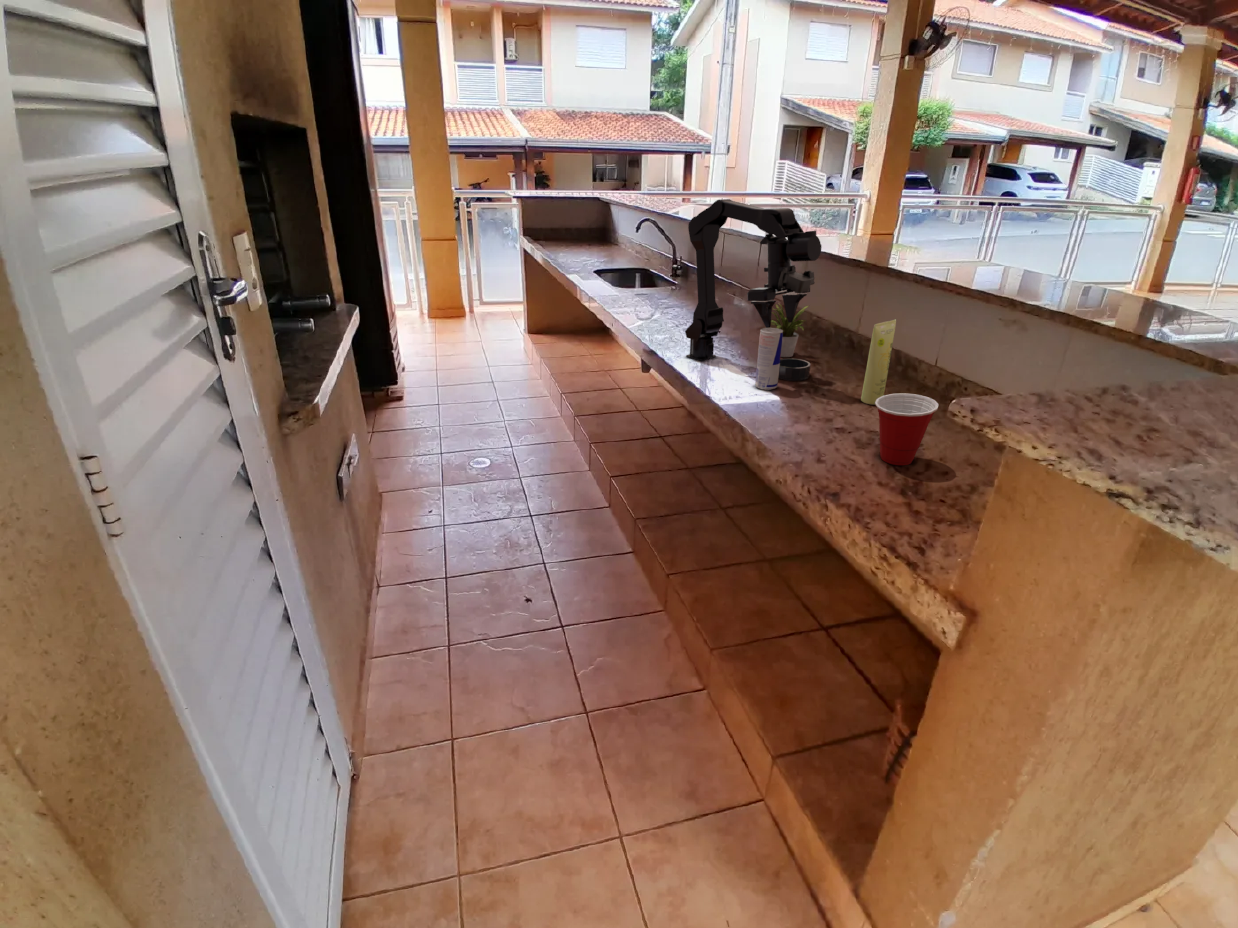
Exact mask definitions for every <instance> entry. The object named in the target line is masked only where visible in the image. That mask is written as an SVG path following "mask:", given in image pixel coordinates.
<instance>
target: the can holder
mask: <svg viewBox="0 0 1238 928" xmlns="http://www.w3.org/2000/svg"><path fill="white" fill-rule="evenodd" d="M811 365H812V364H811V363H810V361H807V360H805V359H801V358H792V357H791V358H790V357H785V358H780V366H779V376H778V380H779V379H780V380H784V381H790V382H798V381H805V380H808V379H809V378H810V375H811V373H810V372H811Z"/></svg>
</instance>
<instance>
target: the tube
mask: <svg viewBox="0 0 1238 928" xmlns="http://www.w3.org/2000/svg"><path fill="white" fill-rule="evenodd" d="M896 326H897V319H896V318H895V319H892V320H888V321H887V320H886V321H883V322H878V323H875V324H874V325H873V329H872V335H871V340H870V345H869V350H868V356H867V363H866V368H865V373H864V379H863V385H862V391H861V397H860V402H862V403H864V404H867V405H875V402H876V400H877V399H878V398H880V397H882V396H884V395H885V392H886V391H885V390H886V385H887V379H888V374H889V367H890V362H891V356H892V349H893V344H894V339H895V332H896ZM875 406H876V405H875Z"/></svg>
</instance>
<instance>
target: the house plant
mask: <svg viewBox="0 0 1238 928" xmlns="http://www.w3.org/2000/svg"><path fill="white" fill-rule="evenodd" d="M774 306H775V308H774V311H772V314H773V315H774V316H775V318H776V319H777V321H776V320H774V319H771V324H772V325H774V326H775V327H776V328H777V329H781V330H783V332H782V333H783V338H782V347H781V357H780V358H790V357H791V358H792V357H793V356H794V353H795V350H796V346H797V343H798V339H799V333H797V332H798V330H799V328H800V329H801V330H802V331H804V329H805V328H804V326H803V325H805V323H804V322H805V320H803V319H798V318H799V317H800V316H801V315H802V314H803V313H805V312H806V311H809V310H808V309H807V308H809V307H810V305H806V306H804V307H803V308H801V309H800V310H799V311H798V312H797V313H795V316H794V319H793V322H791V323H790V322H788V320H787V316H786V317H785V314H784V309H783V306H782V304H780V303H779V304H778V303H777V304H776V303H775V304H774ZM806 309H807V310H806Z"/></svg>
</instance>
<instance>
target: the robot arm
mask: <svg viewBox="0 0 1238 928" xmlns="http://www.w3.org/2000/svg"><path fill="white" fill-rule="evenodd" d="M794 212H795V211H794V210H793V209H792V208H790V207H770V208H769V207H768V208H767V207H760V206H756V205H751V204H748V203H743V202H739V201H735V200H732V199H731V198H722V199H717V200H715V201H714V202H712V204H711V205H709V206H708V207H707V208H705V209H704V210H702V211H701V212H699V213H698V214H697V215H695V216H693V217H691V219H690V221H689V222H688V226H687V229H688V235H689V241H690V243H691V245H692V246H693V248H694V250H695V256H696V257H695V261H696V262H695V263H696V284H697V305H696V307H695V309H694V311H693V314H692V315H693V316H692V323H690V325H689V326H688V327H687V328H686V329H685V331H684V332H685V337H686V339H689V354H686V355H685V357H686V358H688V359H692V360H696V361H701V362H704V361H707V360H710V359H713V358H716V356H717V355H716V354H714V352H715V351H714V349H715V348H714V347H715V344H714V343H715V342H714V337H718V335H719V331H720V329H721V328H722V327H723V322H725V319H724V308H723V307H721V306H720V307H719V305H718V303H717V302H716V279H715V277H716V276H715V247H716V245H717V242H718V240H719V238H720V229H721V228H722V227H723V226H724V225H725V224H726V223H727V221H728V218H729V219H733V220H736V221H741V222H745V223H749V224H753V225H754V226H756V227H757V228H758V229H759V230H760V231H762V232H764V233H766V234H765V236H764V237H763V238H762V239H761V240H760V241H759V244H760V245H767V247H766V248H767V266H766V267H763V272H764V273H767V283H765V284H764V285H763V287H755V288H750V289H749V290H748V291H747V295H746V296H747V297H746V298H747V299H746V301H747V302H750V304H752V305H753V306H754V308H755V309H756V311H757V313H758V314H759V316H760V319H761V320H762V323H763V324H764V328H771V326H772V322H771V320H772V316H773V315H772V314H773V313H772V312H773V306H775V305H776V303H777V300H775V299H776V296H779V295H780V296H782V302H783V305H784V311H785V314H786V316H787V320H788V322H790V324H791V322H793V319H794V317H795V316H796V312H797V310H798V306H799V305H800V301H801V300H802V299H804V297H807V295H808V294H807V293H810V292H811V286H813V285H815V272H814V271H813V270H810V269H809V270H805V271H804V272H798V271H796V269H797V268H796V265H795V264H792V262H815V261H817V260H818V259H819V258H820V256H821V253H822V247H823V246H822V244H821V240H820V238H819V237H818V235H817V230H808V231H804V230H803V228H802V226H801V225H800V224H799V222H798V220H797V218H796V215H795V213H794Z"/></svg>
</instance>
